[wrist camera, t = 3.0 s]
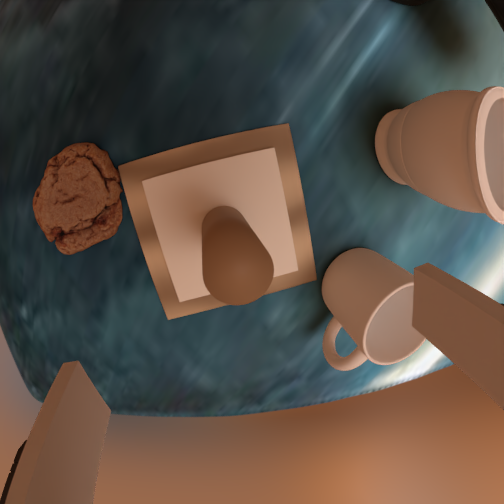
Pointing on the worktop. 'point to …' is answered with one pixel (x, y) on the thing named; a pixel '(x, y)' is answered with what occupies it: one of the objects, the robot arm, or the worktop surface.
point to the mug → (369, 309)
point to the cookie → (79, 198)
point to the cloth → (206, 153)
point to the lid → (223, 227)
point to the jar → (449, 149)
